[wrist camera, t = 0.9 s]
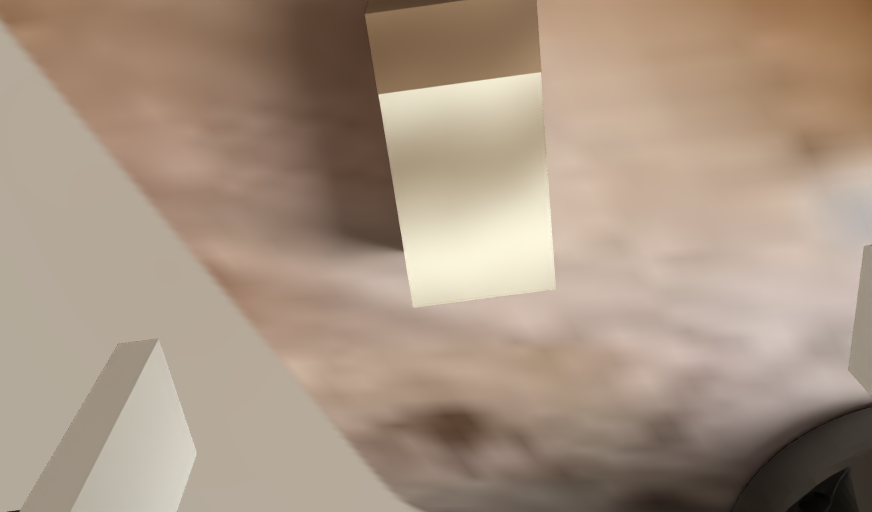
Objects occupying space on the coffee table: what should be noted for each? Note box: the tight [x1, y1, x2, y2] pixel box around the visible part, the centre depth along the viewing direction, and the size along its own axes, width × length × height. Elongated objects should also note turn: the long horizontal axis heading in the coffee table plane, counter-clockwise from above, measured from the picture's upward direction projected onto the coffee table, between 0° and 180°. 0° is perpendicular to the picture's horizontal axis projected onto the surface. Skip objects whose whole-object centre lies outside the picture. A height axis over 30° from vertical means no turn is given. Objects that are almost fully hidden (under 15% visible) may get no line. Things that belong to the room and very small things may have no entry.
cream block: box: [365, 0, 556, 308], centre depth 27 cm, size 10×5×4 cm, turn 7°
